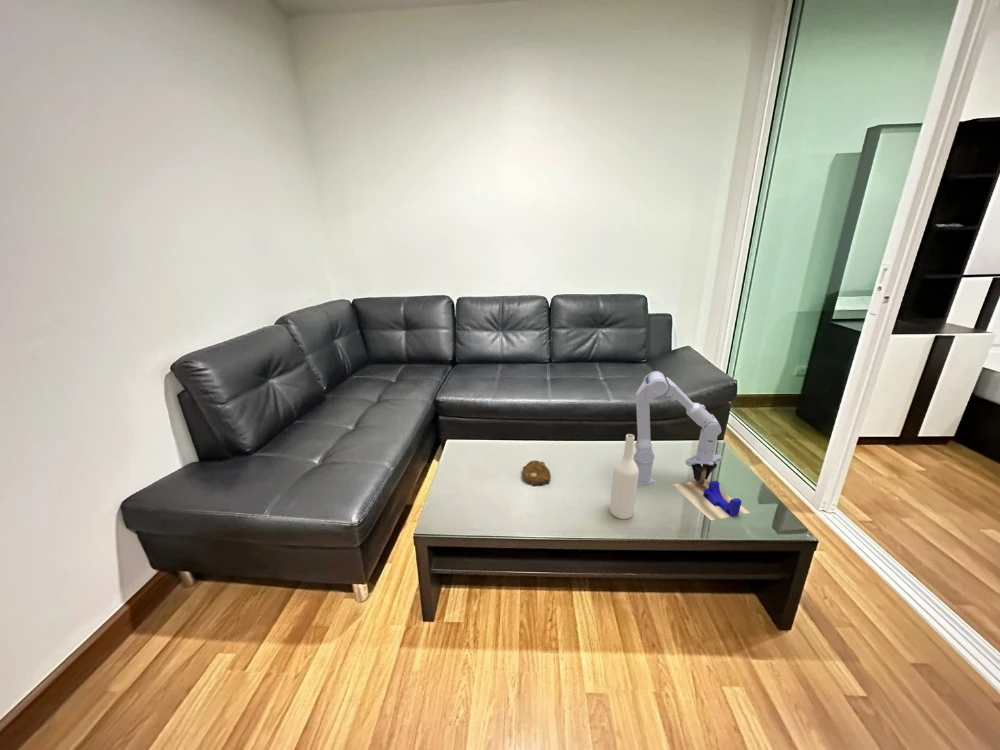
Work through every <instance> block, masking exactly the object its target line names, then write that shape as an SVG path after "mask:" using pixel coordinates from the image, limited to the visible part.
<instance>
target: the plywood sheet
mask: <svg viewBox="0 0 1000 750" xmlns="http://www.w3.org/2000/svg"><path fill="white" fill-rule="evenodd" d="M709 482H711V481H710V480H709V479H708V478H707V480H705V482H704V484H698V483H696V480H691V481H686V482H679V483H673V484H671V486H672V487H673V488H675V489H676V490H677V491H678V492H679V493H680V494H681V495H682V496H683V497H685V499H687V500H688V502H689V503H691V504H693V506H694V507H695V508H697V509H698V510H699V511H700V512H701V513H703V515H705V516H706V518H707V519H709V520H710V521H716V520H722V519H727V518H731V517H733V516H729V515H728V514H727V513H726V512H725V511H724V510H723V509H722V508H720V507H719V506H714V505H713V504H712V503H711V502H709V501H708V500H707V499H706V498H705V497H704V496H703V494H704V489H708V487H709ZM720 492H721V495H722V497H723V498H724V499H725V500H726V501H727V502H728V503H729V502H730V501H731V499H733V498H732V497H731V496H729V495H728V494H727V493H726V492H725V491H723V490H722V489H720ZM750 513H751V512H750V511H748V509H746V508H745V507H743V506H742V505H741V506H740V510H739V514H738V516H742V515H746V514H750Z"/></svg>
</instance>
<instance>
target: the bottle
mask: <svg viewBox="0 0 1000 750" xmlns="http://www.w3.org/2000/svg"><path fill="white" fill-rule="evenodd" d="M634 447H635V435H634V434H631V433H627V434H626V435H625V442H624V450H623V455H622V457H621V458H620V459H619V460H618V461H617V462H616V463H615V464H614V466H613V473H612V482H611V492H610V501H609V512H610V513H611V515H612V516H614V517H615V518H617V519H621V520H628V519H630V518H632V517H633V515H634V511H635V505H636V504H635V503H636V497H637V488H638V485H637V483H638V475H639V469H638V467H637V465H636V463H635V461H634V460H633V457H634Z"/></svg>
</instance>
